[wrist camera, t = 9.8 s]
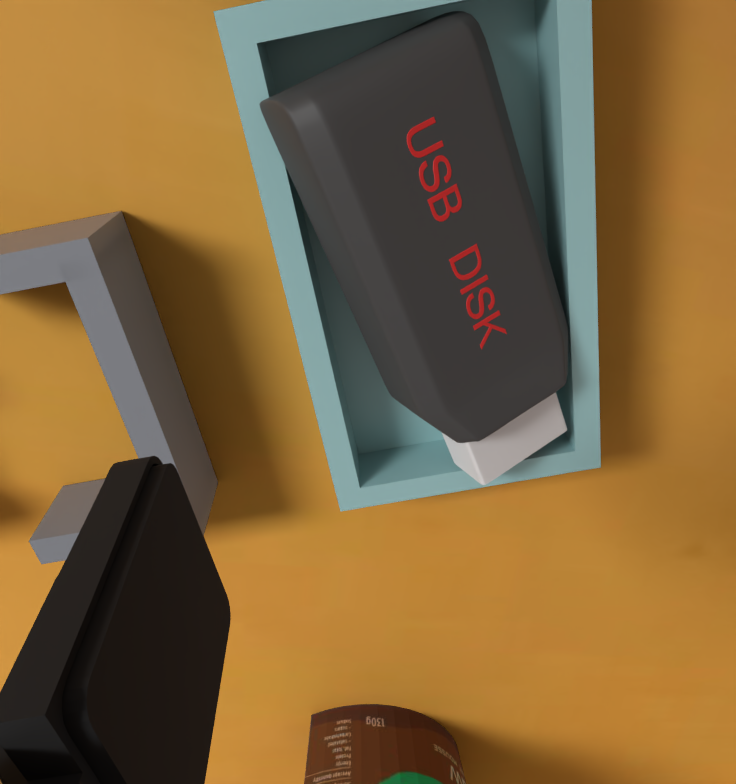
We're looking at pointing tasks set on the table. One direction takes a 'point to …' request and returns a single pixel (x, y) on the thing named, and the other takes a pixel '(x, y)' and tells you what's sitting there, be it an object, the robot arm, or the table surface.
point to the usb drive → (434, 236)
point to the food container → (380, 748)
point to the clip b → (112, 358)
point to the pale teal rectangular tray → (317, 279)
